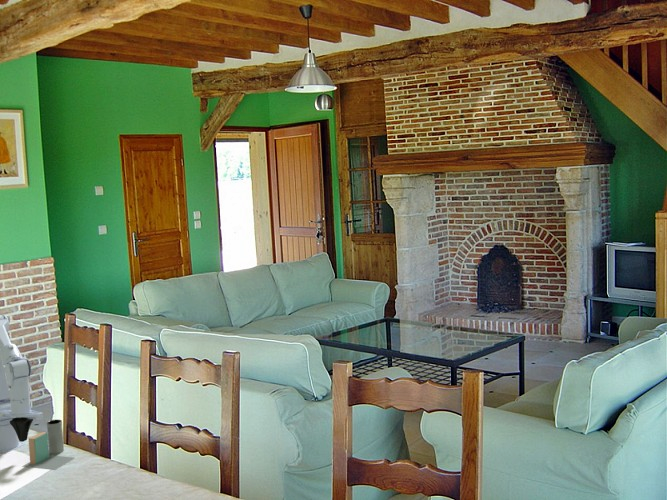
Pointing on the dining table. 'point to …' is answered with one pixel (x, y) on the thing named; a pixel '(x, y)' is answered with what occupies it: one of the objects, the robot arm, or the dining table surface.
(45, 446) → the tile
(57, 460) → the mat
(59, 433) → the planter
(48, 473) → the dining table surface
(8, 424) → the robot arm
